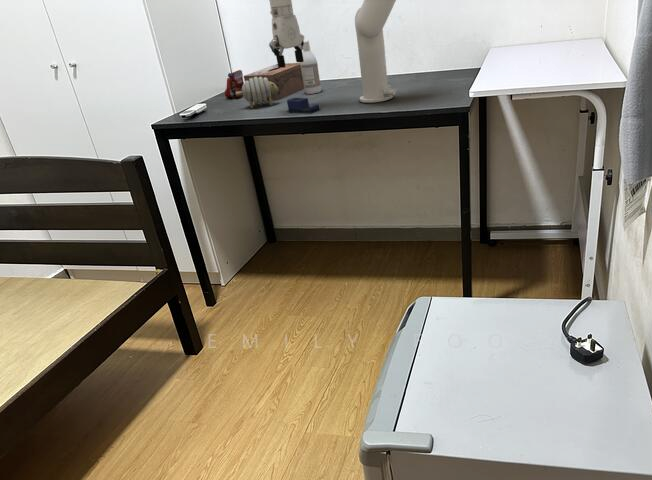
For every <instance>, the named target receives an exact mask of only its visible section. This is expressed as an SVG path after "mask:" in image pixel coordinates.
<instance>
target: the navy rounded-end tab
mask: <svg viewBox="0 0 652 480" xmlns="http://www.w3.org/2000/svg"><path fill="white" fill-rule="evenodd" d="M286 104H287V110H288V112H289V113H299V114H300V113H301V114H313V113H316V112H317V111H320V110H321V107H320V104H319V103H316V104H314V105H312V106H310V102H309V98H308V97H293V98H288V99H287V100H286Z"/></svg>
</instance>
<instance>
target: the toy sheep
mask: <svg viewBox="0 0 652 480" xmlns="http://www.w3.org/2000/svg"><path fill="white" fill-rule="evenodd" d="M277 93H278V87H277V86H276V85H275V84H274V83H272V82H270V81H268V79H267V78H266V77H265V78H262V77H259V78H257V77H254V78H253V79H252V78H250V79H249V81H244V84H243V86H242V91H239V92H236V93H235V94H236V96H239V95H242V98H244V99H245V100H246V101H247V102H249V107H250V109H254V108H255V107H254V105H255V106H258V105H260V106H262V105H263V104H267V103H268V105H269V106H273V104H274V103H273V100H272V99H271V95H275V94H277ZM236 96H235V97H236ZM267 98H268V100H267Z"/></svg>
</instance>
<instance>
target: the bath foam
mask: <svg viewBox="0 0 652 480" xmlns="http://www.w3.org/2000/svg"><path fill="white" fill-rule="evenodd" d="M302 54H303V60H304V62H299V63H300V65H301V71H302V77H303V83H304V89H303V90H304V93H305V94H306V95H313V94H318V93H321V92H322V86H321V85H322V84H321V78H320V72H319V65H318V60H317V57H316V56H315V54H314V53H313V52H312V50H311V46H310V40H304V45H303V50H302Z"/></svg>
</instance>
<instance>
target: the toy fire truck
mask: <svg viewBox="0 0 652 480" xmlns="http://www.w3.org/2000/svg"><path fill="white" fill-rule="evenodd" d="M227 77H228V78H226V89H225V90H224V96H225V98H226V99H232V98H233V97H235V98H237V99H242V98H243V95H239V96H236V94H235V93H236V92H239V91H242V86H243V84H245V83H244V82H245V81H244V73H243V70H242V69H238V70H236V71H233V72H228V74H227Z"/></svg>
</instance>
